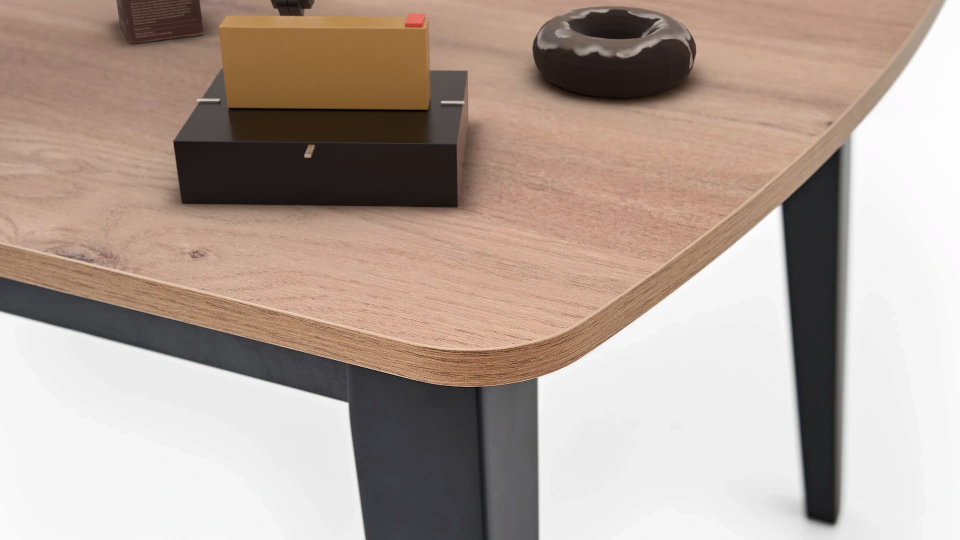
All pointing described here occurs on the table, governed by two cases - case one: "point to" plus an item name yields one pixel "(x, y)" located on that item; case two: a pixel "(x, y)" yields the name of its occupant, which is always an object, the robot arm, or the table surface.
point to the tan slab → (326, 62)
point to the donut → (614, 51)
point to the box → (159, 19)
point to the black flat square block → (326, 152)
